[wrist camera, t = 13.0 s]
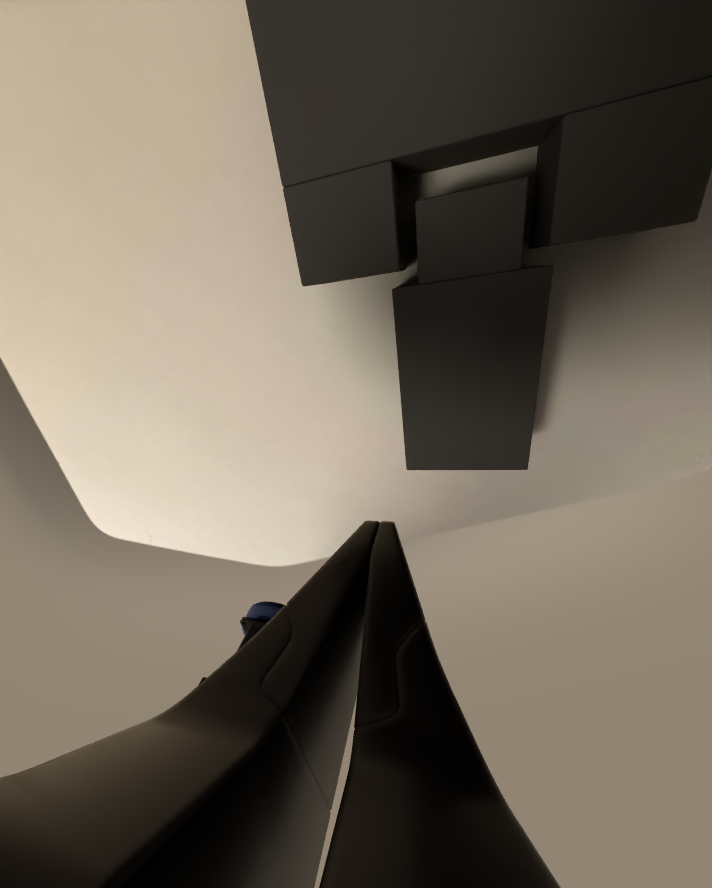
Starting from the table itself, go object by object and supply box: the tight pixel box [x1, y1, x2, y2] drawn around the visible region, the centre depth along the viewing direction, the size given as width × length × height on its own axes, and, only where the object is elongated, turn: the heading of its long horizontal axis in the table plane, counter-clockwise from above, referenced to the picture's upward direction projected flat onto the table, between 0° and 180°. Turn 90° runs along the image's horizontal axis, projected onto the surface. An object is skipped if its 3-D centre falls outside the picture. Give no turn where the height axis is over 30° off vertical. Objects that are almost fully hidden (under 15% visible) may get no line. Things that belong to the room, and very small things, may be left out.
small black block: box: [392, 177, 553, 470], centre depth 15 cm, size 6×12×3 cm, turn 8°
